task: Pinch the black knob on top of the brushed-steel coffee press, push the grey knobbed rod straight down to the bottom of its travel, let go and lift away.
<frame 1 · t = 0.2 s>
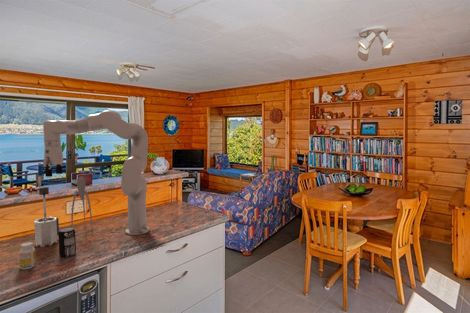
hand: (54, 175, 158), 31 cm above the worktop, tool pointing down, fingers open, 9 cm apart
beverage can: (67, 255, 131), on the worktop
press carafe: (46, 243, 144), on the worktop
grey knobbed rod: (44, 205, 142), point 19 cm above the worktop, slide at 0.0 cm
supplement bottle: (28, 267, 119), on the worktop
juicer: (85, 228, 166), on the worktop
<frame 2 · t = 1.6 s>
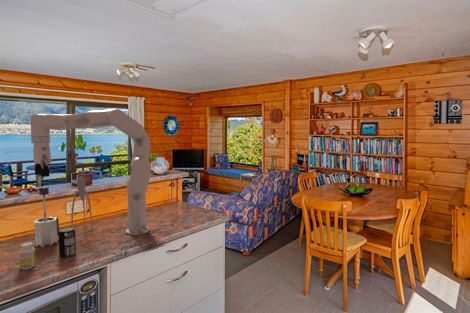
hand: (42, 175, 140), 34 cm above the worktop, tool pointing down, fingers open, 9 cm apart
nothing on the worktop moved.
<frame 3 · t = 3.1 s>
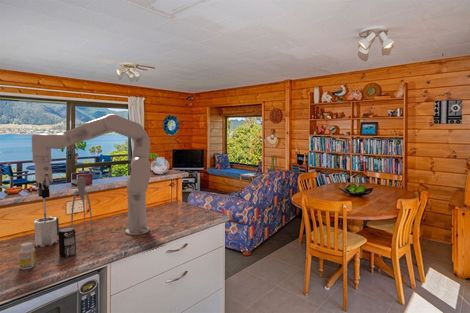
hand: (44, 196, 141), 24 cm above the worktop, tool pointing down, fingers closed on grey knobbed rod, 4 cm apart
grey knobbed rod: (44, 205, 142), point 19 cm above the worktop, slide at 0.0 cm, touching gripper
everything else where it was.
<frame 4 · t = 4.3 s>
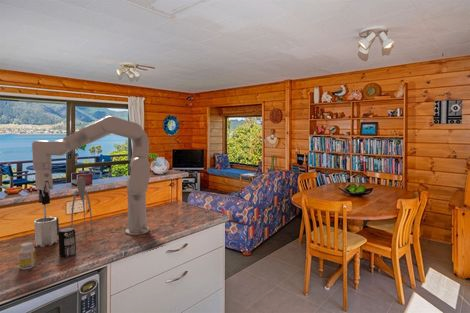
hand: (44, 202, 142), 20 cm above the worktop, tool pointing down, fingers closed on grey knobbed rod, 4 cm apart
grey knobbed rod: (44, 212, 142), point 16 cm above the worktop, slide at 3.2 cm, touching gripper
everything else where it was.
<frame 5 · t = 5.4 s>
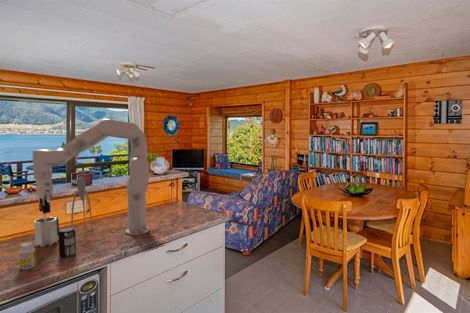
hand: (44, 211, 142), 16 cm above the worktop, tool pointing down, fingers closed on grey knobbed rod, 4 cm apart
grey knobbed rod: (45, 220, 142), point 11 cm above the worktop, slide at 7.6 cm, touching gripper
everything else where it was.
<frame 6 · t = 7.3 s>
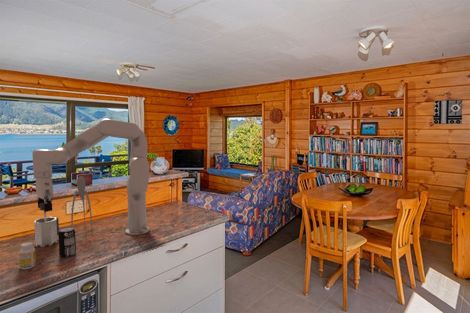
hand: (45, 209, 142), 17 cm above the worktop, tool pointing down, fingers open, 9 cm apart
grey knobbed rod: (45, 221, 143), point 11 cm above the worktop, slide at 7.6 cm
everything else where it was.
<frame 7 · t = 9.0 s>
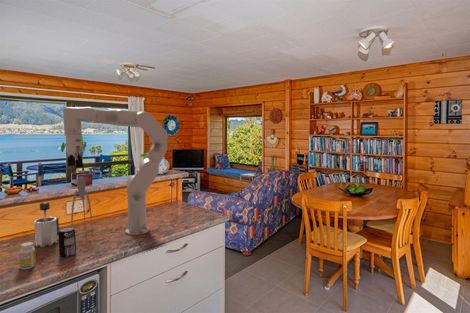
hand: (75, 166, 146), 38 cm above the worktop, tool pointing down, fingers open, 9 cm apart
nothing on the worktop moved.
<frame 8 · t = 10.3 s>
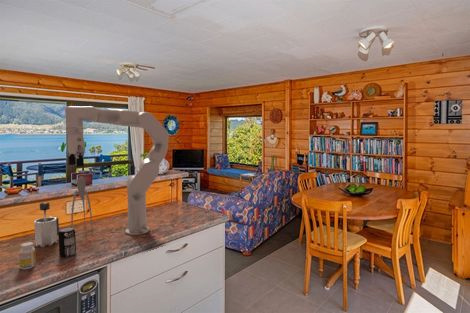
hand: (76, 165, 146), 38 cm above the worktop, tool pointing down, fingers open, 9 cm apart
nothing on the worktop moved.
at the end: grey knobbed rod slide at 7.6 cm; the gripper is holding nothing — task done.
